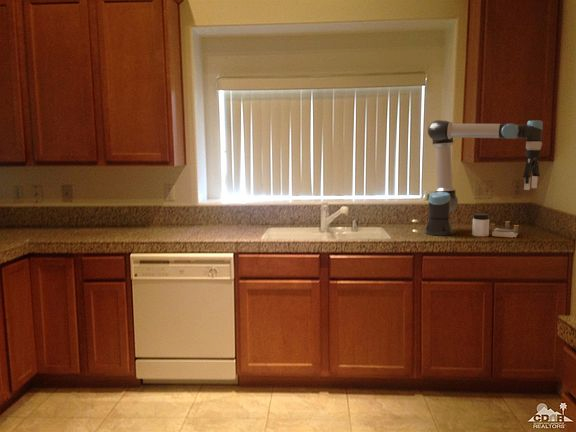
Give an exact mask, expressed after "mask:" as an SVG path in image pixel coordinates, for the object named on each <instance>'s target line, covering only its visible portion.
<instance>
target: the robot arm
mask: <svg viewBox="0 0 576 432" xmlns="http://www.w3.org/2000/svg"><path fill="white" fill-rule="evenodd" d="M543 125H544V122H543V121H542V120H537V119H536V120H528V121H527V123H526V124H525V123H524V124H515V123H453V122H452V121H448V120H440V119H438V120H434V121H432V122H430V124H429V125H428V127H427V135H428V137H429V138H430V139H431V140H432V146H433V147H434V148H435V162H436V163H435V167H436V180H437V181H436V184H437V188H436V189H435V190H434V192H431V193H430V194H429V196H428V219H427V220H428V221H427V223H426V226H425V229H424V234H426V235H431V236H450V235H453V228H452V225H451V222H450V220H451V219H450V217H451V216H450V215H451V213H452V212H453V211H454V210H456V208H457V206H458V204H459V201H458V197H457V194H456V188H454V187H453V185H454V184H453V167H452V166H453V165H452V146H453V144H454V138H460V139H461V138H466V139H467V138H468V139H469V138H470V139H471V138H473V139H476V138H478V139H508V140H510V139H513V140H515V139H526V141H525V149H526V150H525V154H524V155H525V157H526V162H525V168H524V172H523V178H524V186H523V190H524V191H525V190H526V191H530V189H538V180H539V177H540V168H539V167H540V166H539V158H540V157H541V156H542V151H541V149H542V146H543V143H542V141H543V130H544V128H543ZM531 175H532V176H531Z"/></svg>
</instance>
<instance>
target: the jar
mask: <svg viewBox="0 0 576 432" xmlns="http://www.w3.org/2000/svg"><path fill="white" fill-rule="evenodd" d="M471 226H472V229H471V232H472V233H471V235H472V236H474V237H481V236H482V238H484V237H489V235H490V214H488V213H483V212H482V213H480V212H478V213H477V212H476V213H473V217H472V225H471Z"/></svg>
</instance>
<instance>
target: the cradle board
mask: <svg viewBox="0 0 576 432" xmlns="http://www.w3.org/2000/svg"><path fill="white" fill-rule="evenodd" d="M504 222H505V225H504V226H505V227H504V228H498V227H496V228H495V225H496V224H495V223H490V224H489V232H491V236H492V237H501V238H502V237H504V238H513V237H515V238H517V236H518V235H519V226H520V225H519V224H517V225H516V224H513V227H514V228H513V229H510V223H511V221H510V220H509V221H508V220H507V221H504Z"/></svg>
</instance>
